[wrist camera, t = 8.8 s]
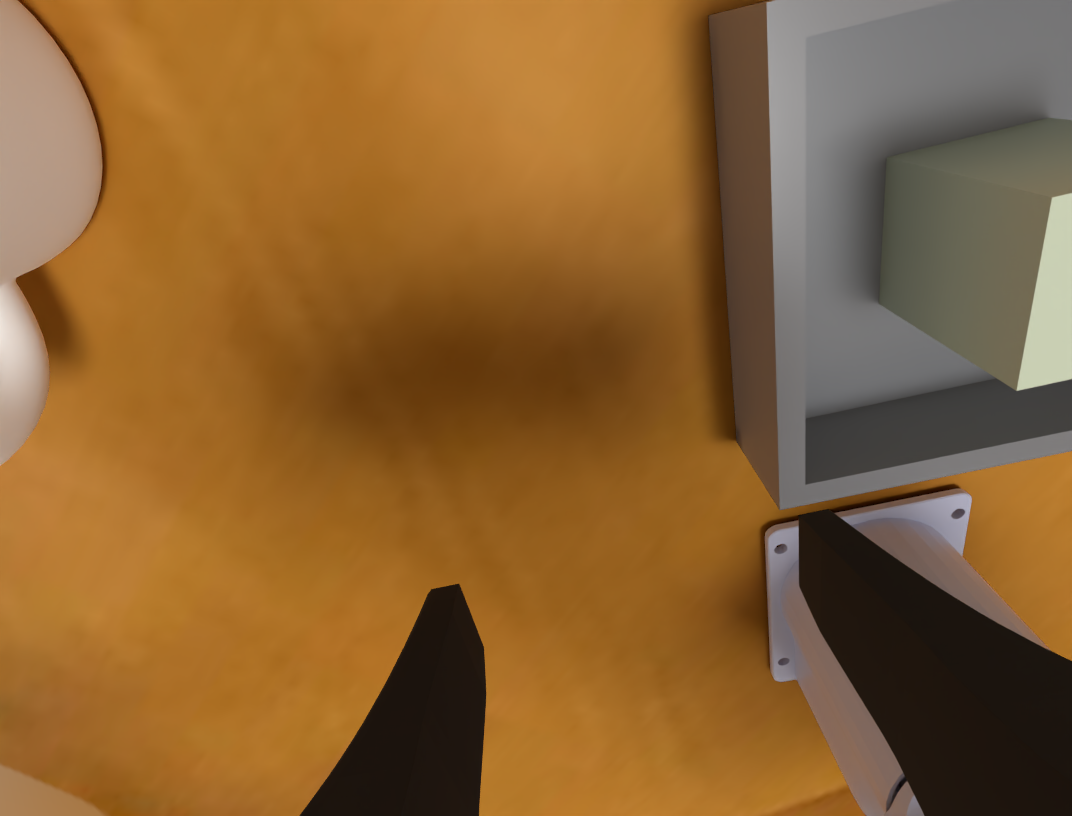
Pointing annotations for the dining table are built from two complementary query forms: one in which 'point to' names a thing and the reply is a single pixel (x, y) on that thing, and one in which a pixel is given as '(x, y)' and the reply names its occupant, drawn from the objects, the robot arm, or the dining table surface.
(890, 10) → the bin
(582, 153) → the dining table surface
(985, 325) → the block
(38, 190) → the mug
